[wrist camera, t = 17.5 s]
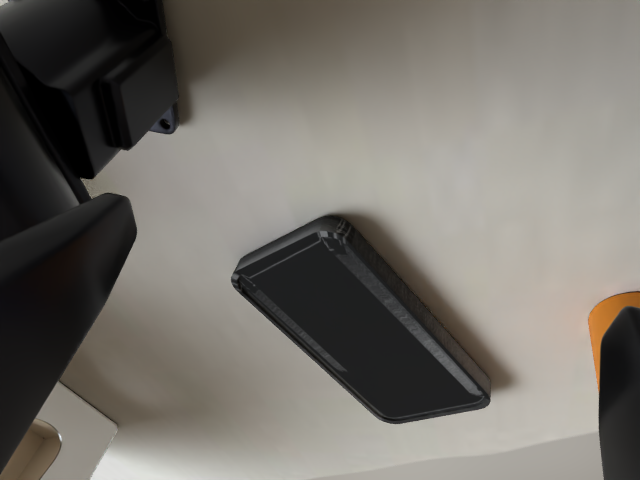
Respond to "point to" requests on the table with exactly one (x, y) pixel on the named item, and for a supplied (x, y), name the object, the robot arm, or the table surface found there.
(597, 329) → the glue stick
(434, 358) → the phone
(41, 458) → the gable box
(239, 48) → the table surface
